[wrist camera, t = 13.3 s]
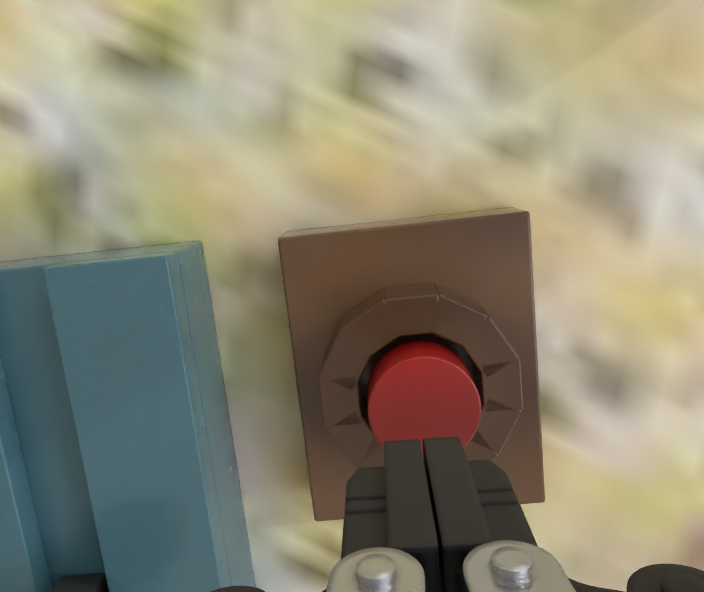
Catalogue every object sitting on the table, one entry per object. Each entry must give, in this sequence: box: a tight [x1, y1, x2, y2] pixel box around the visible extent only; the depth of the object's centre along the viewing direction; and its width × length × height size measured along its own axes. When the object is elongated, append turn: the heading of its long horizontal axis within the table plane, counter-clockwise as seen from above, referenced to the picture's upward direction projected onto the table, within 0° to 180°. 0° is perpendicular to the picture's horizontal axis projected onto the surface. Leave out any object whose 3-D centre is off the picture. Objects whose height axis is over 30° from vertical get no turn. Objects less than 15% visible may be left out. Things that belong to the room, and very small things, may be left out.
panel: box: [278, 207, 545, 521], centre depth 21 cm, size 10×8×4 cm
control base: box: [0, 241, 256, 592], centre depth 22 cm, size 16×10×5 cm, turn 6°
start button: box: [368, 340, 481, 455], centre depth 19 cm, size 3×3×2 cm
